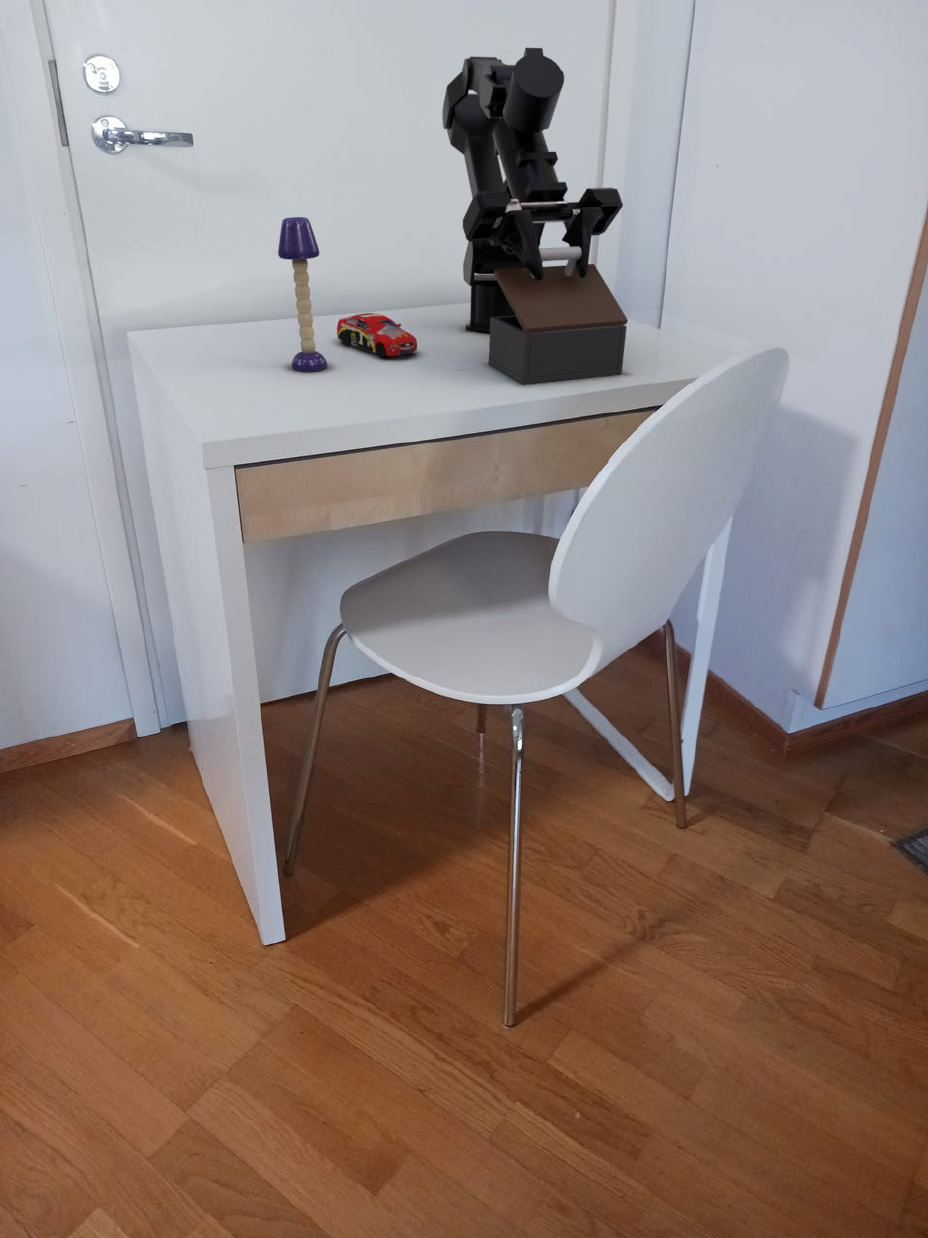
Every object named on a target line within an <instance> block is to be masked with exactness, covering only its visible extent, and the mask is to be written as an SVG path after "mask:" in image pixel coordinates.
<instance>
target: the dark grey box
mask: <svg viewBox="0 0 928 1238" xmlns="http://www.w3.org/2000/svg"><path fill="white" fill-rule="evenodd" d="M626 336H627V325H615V326H603V327H591V328H579V329H567V330H555V331H543V332H531V333H525V332H524V330H523V328H522V326H521V325H520V323H519V321H518V319H517V317H516V315H514V316H501V317H490V332H489V344H488V345H489V347H488V348H489V349H488V365H489V366H490V367H492V368H494V369H496V370H498V371H499V372H501V373H503V374H504V375H506V376H508V377H510V378H511V379H513V380H514V381H516V382H518V383H520V384H522V385H531V384H540V383H550V382H559V381H560V382H561V381H568V380H579V379H587V378H598V377H607V376H616V375H622V374H623V364H624V354H625V345H626Z"/></svg>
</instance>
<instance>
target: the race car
mask: <svg viewBox="0 0 928 1238" xmlns="http://www.w3.org/2000/svg"><path fill="white" fill-rule="evenodd" d="M401 327H402V324H401V323H396V322H395V321H394V320H392V319H391V318H389V317H388V316H386V315H383V314H379V313H374V312H367V313H359V314H354V315H351V316H350V315H349V316H347V317H341V318H339V320H338V321H337V327H336V336H337V339H338V340H339V341H341V342H342V344H343V345H344V346H345V347H349V346H354V347H357V348H360V349H362V350H366V351H369V352H371V353H374V354H377V356H378V357H379V358H380V359H385V358H389V356H403V355H409V354H413V353H416V352H417V350H418V340H417V338H416V336H414V335H413V334H412V333H410V332H408V331H407V330H404V329H403V328H401Z"/></svg>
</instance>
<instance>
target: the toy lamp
mask: <svg viewBox="0 0 928 1238" xmlns="http://www.w3.org/2000/svg"><path fill="white" fill-rule="evenodd" d="M277 250H278V251H277V255H278V257H279V258H280V259H282V260H290V261H291V266H292V269H293V271H294V272H293V282H294V285H295V287H294V294H295V297H296V302H295V308H296V310H297V312H298V313H297V323H298V325H299V329H298V334H299V337H300V349H301V351H300V352H297V353H296V354H295V355H294V357H293V358H292V361H291V369H292V370H294V371H297V372H304V373H305V372H306V373H307V372H308V373H312V372H313V373H314V372H320V371H323V370H325V369H327V367H328V363H327V360H326V358H325V356H324V355H323V354H322V353H321V352H319V351H317V350H316V341H315V339H314V338H315V330H314V327H313V323H314V317H313V314H312V301H311V299H310V297H311V288H310V286H309V284H310V283H309V282H310V276H309V273H308V268H309V264H308V263H309V261H308V260H310V259H311V260H312V259H315V258H318V257H319V256H320V249H319V245H318V241H317V239H316V236H315V233H314V230H313V226H312V224H311V221H310V219H309V218H308V217H303V216H295V217H294V216H293V217H286V218H283V219H282V221H281V226H280V233H279V242H278V249H277Z"/></svg>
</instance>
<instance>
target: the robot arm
mask: <svg viewBox="0 0 928 1238" xmlns="http://www.w3.org/2000/svg"><path fill="white" fill-rule="evenodd" d="M564 84H565V74H564V71H563V70H562V69H561V67H560V66H559V64H558V63H556V62H555V61H554V60H553V59H551V58H549V57H548V56H545V55H544V49H543V48H542V47H525V49H524V52H523V56H522V57H520V58H519V59H517V61H516V63H515V64H506V63H504V62H503V61H502V59H501V58H499V59H498V58H497V56H469V58H465V59H464V61H463V64H462V69H461V71H460V72H459V73H458V74H457V75H456V76H455V77H454V78H453V79H452V80H451V82H449V83H448V84H447V85H446V89H445V92H444V93H445V94H444V99H443V104H442V115H441V116H442V127H443V130H446V133H447V136H448V140H449V144H450V145H451V146H452V147H453V148H454V149H455V150H456V151H458V152H459V153H461V154H462V155H463V158H464V163H465V168H466V172H467V179H468V182H469V188H470V193H471V198H472V199H471V201H470V203H469V206H468V208H467V210H466V211H465V214H464V216H463V218H462V229H463V233H464V235H465V240H466V241H468V242H467V245H466V250H465V255H464V258H463V262H462V272H463V281H464V282H465V284H467V285H468V286H469V287H470V311H469V313H470V314H469V323H468V324H466V325H465V326H464V329H465V330H467V331H468V330H469V331H475V332H484V333H490V317H501V316H514V315H515V313H514V311H513V309H512V307H511V306H510V304H509V302H508V300H507V298H506V296H505V294H504V292H503V290H502V289H501V287H500V285H499V283H498V281H497V279H496V277H495V275H494V272H495V269H512V268H528V270H529V271H530V272H531V273H532V275H533V276H534V277H535V278H536V280H537V281H541V280H542V278H543V277H544V272H543V267H544V265H543V263H542V259H541V255H540V251H539V248H540V246H541V239H542V236H543V234H544V233H543V232H544V229H545V225H546V224H547V223H549V224H551V223H563V225H564V227H565V231H566V232H565V233H564V235H563V237H562V238H561V241H562V242H563V243H565V244H568V247H580V248H581V251H582V255H581V258H580V259H577V261H576V263H575V266H576V269H577V271H578V273H579V275H580V277H581V278H584V277H585V276H586V274H587V270H588V264H589V261H590V253H591V243H592V237H593V236H594V237H595V236H600V235H602V234H604V233H606V231H607V230H608V228H609V227H610V225H612V223H613V221H614V220H615V219H616V217H617V215H618V214H619V212H620V211H621V210H622V208H623V207H624V203H623V200H622V197H621V194H620V192H619V191H618V188H614V187H587V188H586V189H585V191H584V193H583V194H582V196H581V197H580V198H579V200H578V201H572V202H571V201H570V202H569V201H568V200H565V198H564V197H565V195H566V194H567V192H568V190H569V188H568V185H567V182H566V181H559V178H558V176H557V172H556V168H555V166H556V163H557V162H558V160H559V157H558V154H557V151H550V150H549V148H548V145H547V141H546V138H545V135H544V132H543V131H545V130H548V129H549V128H550V126H551V123H552V121H553V117H554V114H555V111H556V108H557V105H558V102H559V99H560V97H561V96H560V95H561V92H562V90H563V86H564ZM470 91H473V92H474V93H469V92H470ZM500 164H501V165H500ZM501 167H502V170H503V173H504V176H505V179H503V173H502V170H501Z"/></svg>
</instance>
